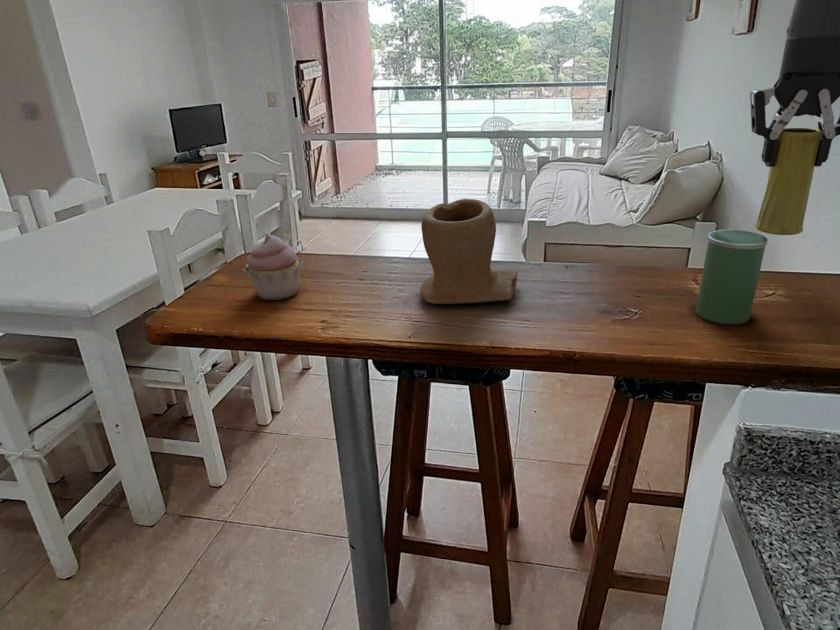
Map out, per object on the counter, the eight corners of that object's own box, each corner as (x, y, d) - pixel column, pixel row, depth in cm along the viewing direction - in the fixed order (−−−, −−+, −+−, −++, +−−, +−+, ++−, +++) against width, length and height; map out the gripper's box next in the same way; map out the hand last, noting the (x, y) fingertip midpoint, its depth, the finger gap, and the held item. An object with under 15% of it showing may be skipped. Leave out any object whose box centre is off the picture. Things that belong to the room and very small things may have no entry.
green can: (743, 305, 81) (759, 230, 76) (756, 326, 75) (774, 246, 70) (691, 302, 82) (703, 228, 78) (700, 323, 76) (714, 244, 72)
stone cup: (417, 317, 82) (413, 214, 76) (422, 285, 93) (418, 193, 86) (524, 315, 81) (528, 211, 75) (516, 284, 92) (519, 190, 85)
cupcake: (246, 288, 95) (235, 230, 91) (302, 279, 98) (294, 222, 93) (250, 309, 87) (238, 246, 83) (311, 298, 90) (303, 237, 85)
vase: (763, 221, 89) (781, 126, 83) (808, 228, 85) (831, 128, 79) (749, 231, 86) (767, 131, 80) (795, 238, 81) (818, 134, 76)
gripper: (767, 36, 73) (743, 171, 80) (899, 29, 69) (862, 170, 76) (751, 37, 80) (730, 161, 87) (871, 30, 76) (839, 160, 83)
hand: (792, 165), depth 81 cm, fingers closed on vase, 5 cm apart
